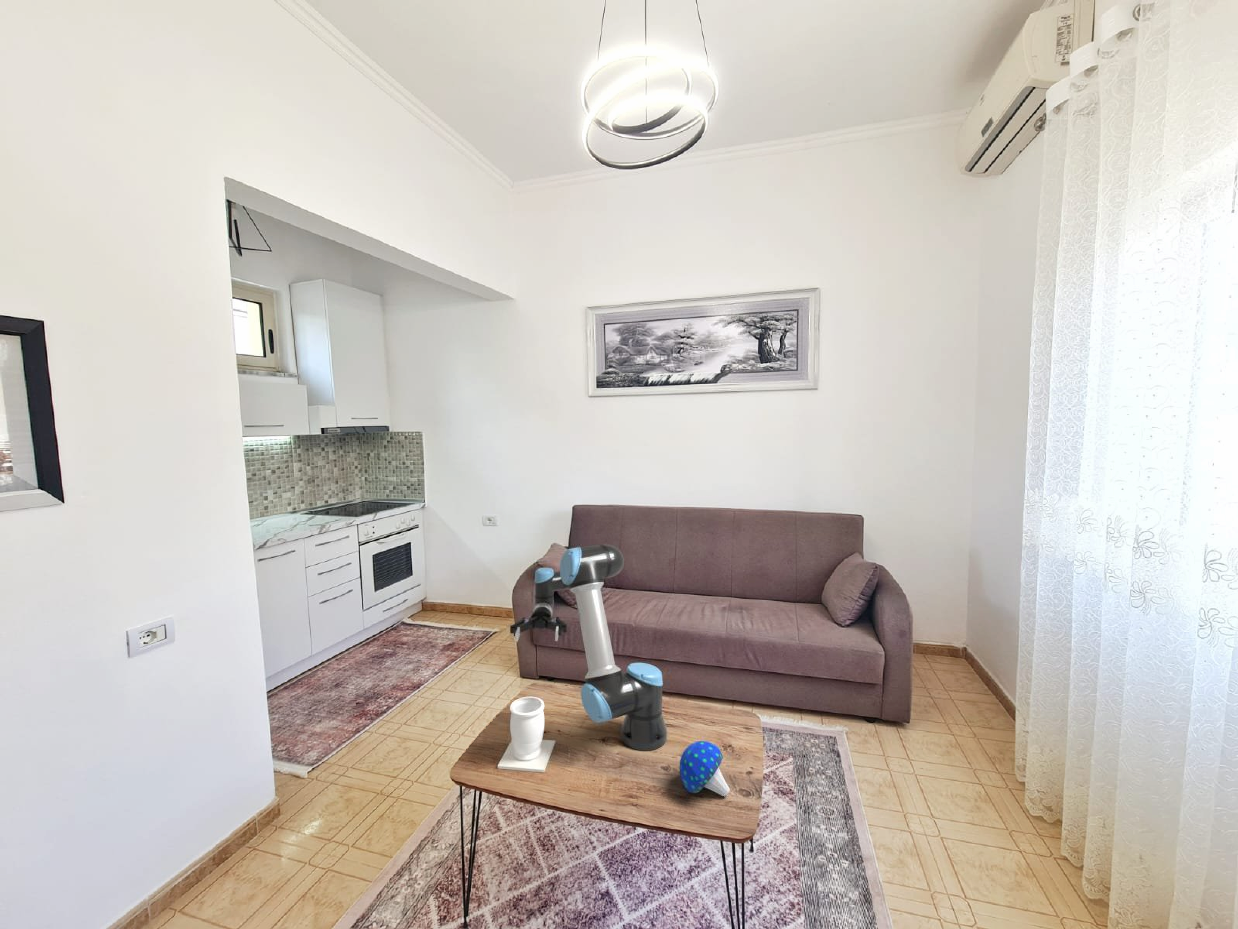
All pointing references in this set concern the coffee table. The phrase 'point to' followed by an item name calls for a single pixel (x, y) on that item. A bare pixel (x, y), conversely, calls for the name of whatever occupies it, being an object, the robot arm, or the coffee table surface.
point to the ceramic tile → (529, 765)
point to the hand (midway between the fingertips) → (536, 637)
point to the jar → (527, 727)
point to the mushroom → (702, 768)
